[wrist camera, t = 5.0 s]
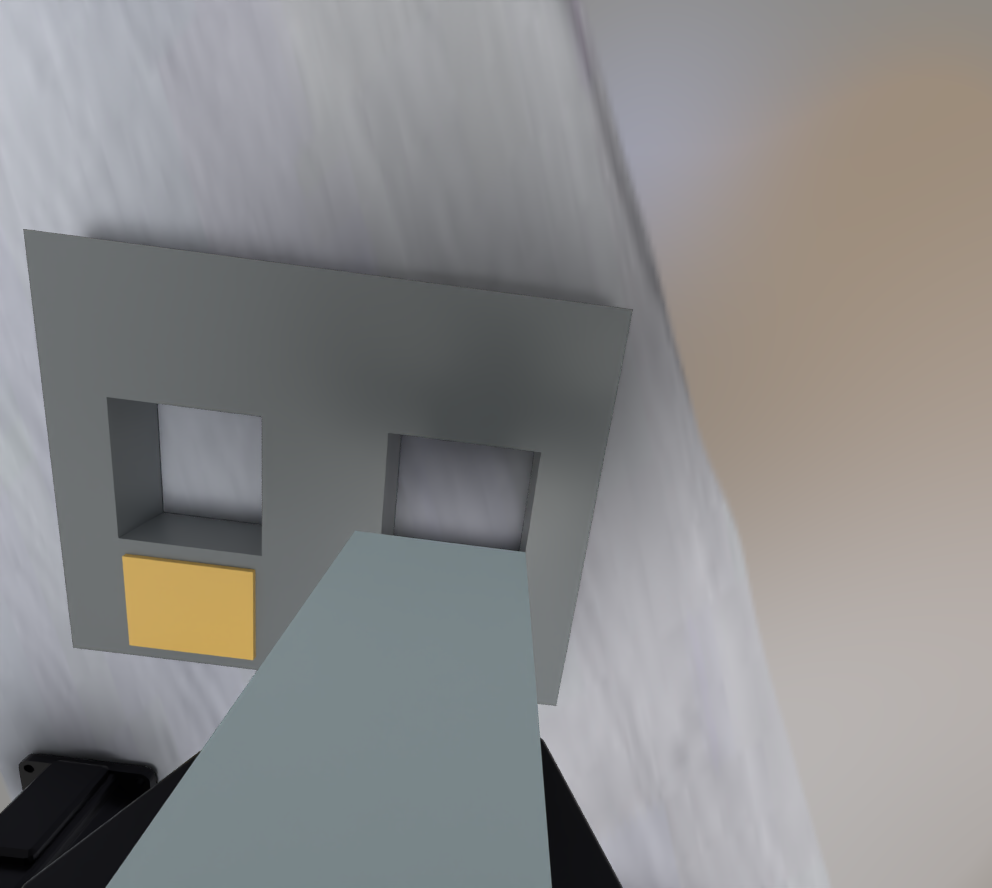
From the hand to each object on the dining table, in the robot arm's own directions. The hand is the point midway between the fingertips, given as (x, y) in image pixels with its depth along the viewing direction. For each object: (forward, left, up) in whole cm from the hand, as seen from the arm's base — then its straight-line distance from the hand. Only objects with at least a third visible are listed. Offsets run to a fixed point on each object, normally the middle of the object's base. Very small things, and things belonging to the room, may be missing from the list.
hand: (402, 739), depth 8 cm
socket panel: (0, +5, -12) cm, 13 cm away
